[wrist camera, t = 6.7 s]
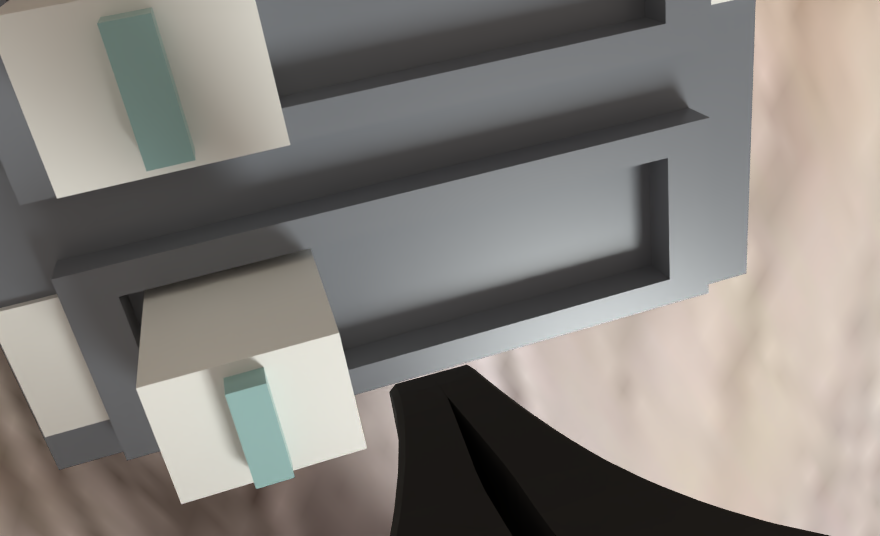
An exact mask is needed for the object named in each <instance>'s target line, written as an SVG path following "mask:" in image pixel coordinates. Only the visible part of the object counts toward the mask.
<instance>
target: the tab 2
mask: <svg viewBox="0 0 880 536" xmlns="http://www.w3.org/2000/svg"><path fill="white" fill-rule="evenodd" d="M136 390H137V393H138V395H139V398H140V400H141V403H142V405H143V408H144V410H145V413H146V416H147V418H148V421H149V423H150V426H151V428H152V431H153V433H154V436H155V438H156V441H157V443H158V446H159V449H160V451H161V454H162V456H163V459H164V461H165V464H166V466H167V469H168V471H169V474H170V476H171V479H172V482H173V484H174V487H175V489H176V492H177V494H178V497H179V499H180V502H181V504H184V503H187V502H190V501H194V500H197V499H200V498H204V497H207V496H210V495H214V494H217V493H220V492H224V491H227V490H230V489H234V488H237V487H240V486H244V485H247V484H250V483H254V484H255V487H256V489H259V488H262V487H265V486H268V485H272V484H275V483H278V482H282V481H285V480H288V479H292V478H295V476H294V471H293V470H297V469H300V468H303V467H307V466H310V465H313V464H317V463H320V462H323V461H327V460H330V459H333V458H337V457H340V456H343V455H347V454H350V453H353V452H357V451H360V450H363V449H367V446H366V442H365V438H364V434H363V430H362V425H361V421H360V417H359V413H358V409H357V405H356V401H355V396H354V392H353V388H352V384H351V380H350V376H349V371H348V367H347V363H346V359H345V355H344V351H343V347H342V342H341V338H340V334H339V331H338V328H337V325H336V322H335V319H334V316H333V313H332V310H331V307H330V304H329V302H328V299H327V296H326V293H325V290H324V287H323V284H322V281H321V278H320V275H319V272H318V269H317V266H316V264H315V261H314V258H313V255H312V252H311V249H310V248H309V249H306V250H302V251H298V252H294V253H290V254H286V255H282V256H278V257H274V258H270V259H266V260H262V261H258V262H254V263H250V264H246V265H242V266H238V267H234V268H230V269H227V270H223V271H219V272H215V273H211V274H207V275H203V276H199V277H195V278H191V279H187V280H183V281H179V282H175V283H171V284H167V285H163V286H159V287H155V288H151V289H147V290H144V301H143V312H142V324H141V335H140V347H139V358H138V369H137V381H136Z"/></svg>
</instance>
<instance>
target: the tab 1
mask: <svg viewBox="0 0 880 536" xmlns="http://www.w3.org/2000/svg"><path fill="white" fill-rule="evenodd" d="M0 56H1V58H2V61H3V63H4V66H5V68H6V71H7V73H8V76H9V78H10V81H11V84H12V86H13V89H14V91H15V94H16V96H17V99H18V101H19V104H20V106H21V109H22V111H23V114H24V116H25V119H26V121H27V124H28V126H29V129H30V131H31V134H32V137H33V139H34V142H35V144H36V147H37V149H38V152H39V154H40V157H41V159H42V162H43V164H44V167H45V169H46V172H47V174H48V177H49V179H50V182H51V185H52V187H53V190H54V192H55V195H56V197H57V199H58V198H62V197H66V196H71V195H75V194H79V193H84V192H88V191H92V190H97V189H101V188H106V187H110V186H114V185H119V184H123V183H127V182H132V181H136V180H140V179H145V178H149V177H153V176H158V175H162V174H167V173H171V172H175V171H180V170H184V169H188V168H193V167H197V166H201V165H206V164H210V163H215V162H219V161H223V160H228V159H232V158H236V157H241V156H245V155H249V154H254V153H258V152H263V151H267V150H271V149H276V148H280V147H284V146H289V145H290V141H289V137H288V133H287V129H286V125H285V120H284V116H283V112H282V108H281V104H280V100H279V96H278V92H277V88H276V83H275V79H274V75H273V71H272V67H271V63H270V59H269V55H268V50H267V46H266V42H265V38H264V34H263V30H262V26H261V22H260V18H259V13H258V9H257V5H256V1H255V0H9V1H8V2H6V3H5V4H4V5H2V6H1V7H0Z"/></svg>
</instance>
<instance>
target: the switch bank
mask: <svg viewBox="0 0 880 536" xmlns="http://www.w3.org/2000/svg"><path fill="white" fill-rule="evenodd" d="M8 1H9V0H0V7H1V6H2V5H4V4H5V3H6V2H8ZM255 1H256V5H257V9H258V13H259V18H260V22H261V26H262V30H263V34H264V38H265V42H266V46H267V50H268V55H269V59H270V63H271V67H272V71H273V75H274V79H275V83H276V88H277V92H278V96H279V100H280V104H281V108H282V112H283V116H284V120H285V125H286V129H287V133H288V137H289V141H290V145H289V146H284V147H280V148H276V149H271V150H267V151H263V152H258V153H254V154H249V155H245V156H241V157H236V158H232V159H228V160H223V161H219V162H215V163H210V164H206V165H201V166H197V167H193V168H188V169H184V170H180V171H175V172H171V173H167V174H162V175H158V176H153V177H149V178H145V179H140V180H136V181H132V182H127V183H123V184H119V185H114V186H110V187H106V188H101V189H97V190H92V191H88V192H84V193H79V194H75V195H71V196H66V197H62V198H58V199H57V197H56V195H55V192H54V190H53V187H52V185H51V182H50V179H49V177H48V174H47V172H46V169H45V167H44V164H43V162H42V159H41V157H40V154H39V152H38V149H37V147H36V144H35V142H34V139H33V137H32V134H31V131H30V129H29V126H28V124H27V121H26V119H25V116H24V114H23V111H22V109H21V106H20V104H19V101H18V99H17V96H16V94H15V91H14V89H13V86H12V84H11V81H10V78H9V76H8V73H7V71H6V68H5V66H4V63H3V61H2V58H1V56H0V347H1V349H2V351H3V353H4V355H5V357H6V359H7V361H8V363H9V365H10V368H11V370H12V372H13V374H14V376H15V378H16V380H17V382H18V384H19V387H20V389H21V391H22V393H23V395H24V397H25V399H26V401H27V403H28V405H29V408H30V410H31V412H32V414H33V416H34V418H35V420H36V422H37V424H38V427H39V429H40V431H41V433H42V435H43V437H44V439H45V441H46V443H47V445H48V448H49V450H50V452H51V454H52V456H53V458H54V460H55V462H56V464H57V467H58V469H59V470H61V469H64V468H68V467H71V466H75V465H78V464H82V463H85V462H89V461H92V460H96V459H99V458H103V457H106V456H110V455H113V454H117V453H120V452H124V454H125V457H126V459H127V460H131V459H134V458H138V457H141V456H145V455H148V454H152V453H155V452H159V451H160V449H159V446H158V443H157V441H156V438H155V436H154V433H153V431H152V428H151V426H150V423H149V421H148V418H147V416H146V413H145V410H144V408H143V405H142V403H141V400H140V398H139V395H138V393H137V390H136V381H137V369H138V358H139V347H140V335H141V324H142V312H143V301H144V290H147V289H151V288H155V287H159V286H163V285H167V284H171V283H175V282H179V281H183V280H187V279H191V278H195V277H199V276H203V275H207V274H211V273H215V272H219V271H223V270H227V269H230V268H234V267H238V266H242V265H246V264H250V263H254V262H258V261H262V260H266V259H270V258H274V257H278V256H282V255H286V254H290V253H294V252H298V251H302V250H306V249H309V248H310V249H311V252H312V255H313V258H314V261H315V264H316V266H317V269H318V272H319V275H320V278H321V281H322V284H323V287H324V290H325V293H326V296H327V299H328V302H329V304H330V307H331V310H332V313H333V316H334V319H335V322H336V325H337V328H338V331H339V334H340V338H341V342H342V347H343V351H344V355H345V359H346V363H347V367H348V371H349V376H350V380H351V384H352V388H353V392H354V395H356V394H360V393H363V392H367V391H370V390H374V389H377V388H381V387H384V386H388V385H391V384H395V383H398V382H401V381H405V380H408V379H412V378H415V377H419V376H422V375H426V374H429V373H433V372H436V371H440V370H443V369H447V368H450V367H454V366H457V365H460V364H464V363H467V362H471V361H474V360H478V359H481V358H485V357H488V356H492V355H495V354H499V353H502V352H506V351H509V350H513V349H516V348H519V347H523V346H526V345H530V344H533V343H537V342H540V341H544V340H547V339H551V338H554V337H558V336H561V335H565V334H568V333H571V332H575V331H578V330H582V329H585V328H589V327H592V326H596V325H599V324H603V323H606V322H610V321H613V320H617V319H620V318H624V317H627V316H630V315H634V314H637V313H641V312H644V311H648V310H651V309H655V308H658V307H662V306H665V305H669V304H672V303H676V302H679V301H683V300H686V299H689V298H693V297H696V296H700V295H703V294H707V293H708V284H711V283H714V282H718V281H721V280H725V279H728V278H732V277H735V276H739V275H742V274H746V266H747V236H748V207H749V178H750V148H751V119H752V90H753V61H754V31H755V2H756V0H255Z"/></svg>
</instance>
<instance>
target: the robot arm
mask: <svg viewBox="0 0 880 536" xmlns="http://www.w3.org/2000/svg"><path fill="white" fill-rule="evenodd" d="M390 397H391V402H392V408H393V413H394V418H395V423H396V428H397V433H398V438H399V455H398V479H397V489H396V499H395V508H394V515H393V522H392V528H391V533H390V536H829V535H824V534H820V533H815V532H811V531H806V530H802V529H797V528H792V527H788V526H783V525H779V524H774V523H770V522H767V521H763V520H759V519H756V518H753V517H749V516H746V515H742V514H739V513H735V512H732V511H728V510H725V509H722V508H719V507H716V506H713V505H710V504H707V503H704V502H701V501H698V500H696V499H693V498H691V497H688V496H685V495H683V494H680V493H678V492H675V491H672V490H670V489H667V488H665V487H662V486H660V485H657V484H655V483H653V482H650V481H648V480H646V479H644V478H641V477H639V476H637V475H635V474H633V473H631V472H629V471H627V470H625V469H623V468H621V467H619V466H617V465H614V464H612V463H610V462H608V461H606V460H605V459H603V458H601V457H599V456H597V455H596V454H594V453H592V452H590V451H589V450H587V449H585V448H584V447H582V446H580V445H579V444H577V443H575V442H574V441H572V440H570V439H569V438H567V437H566V436H564V435H563V434H561V433H560V432H558V431H556V430H555V429H553V428H552V427H551V426H549V425H548V424H546V423H545V422H543V421H542V420H540V419H539V418H537V417H536V416H534V415H533V414H532V413H530V412H529V411H527V410H526V409H525V408H523V407H522V406H520V405H519V404H518V403H516V402H515V401H514V400H512V399H511V398H510V397H508V396H507V395H506V394H505V393H503V392H502V391H501V390H499V389H498V388H497V387H496V386H494V385H493V384H492V383H491V382H489V381H488V380H487V379H486V378H484V377H483V376H482V375H481V374H479V373H478V372H477V371H476V370H475V369H473V368H471V367H470V366H468V365H464V366H460V367H457V368H453V369H450V370H446V371H442V372H439V373H435V374H431V375H428V376H424V377H420V378H417V379H413V380H409V381H406V382H402V383H398V384H395V385H394V387H393V388H392V389H391V391H390Z"/></svg>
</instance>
